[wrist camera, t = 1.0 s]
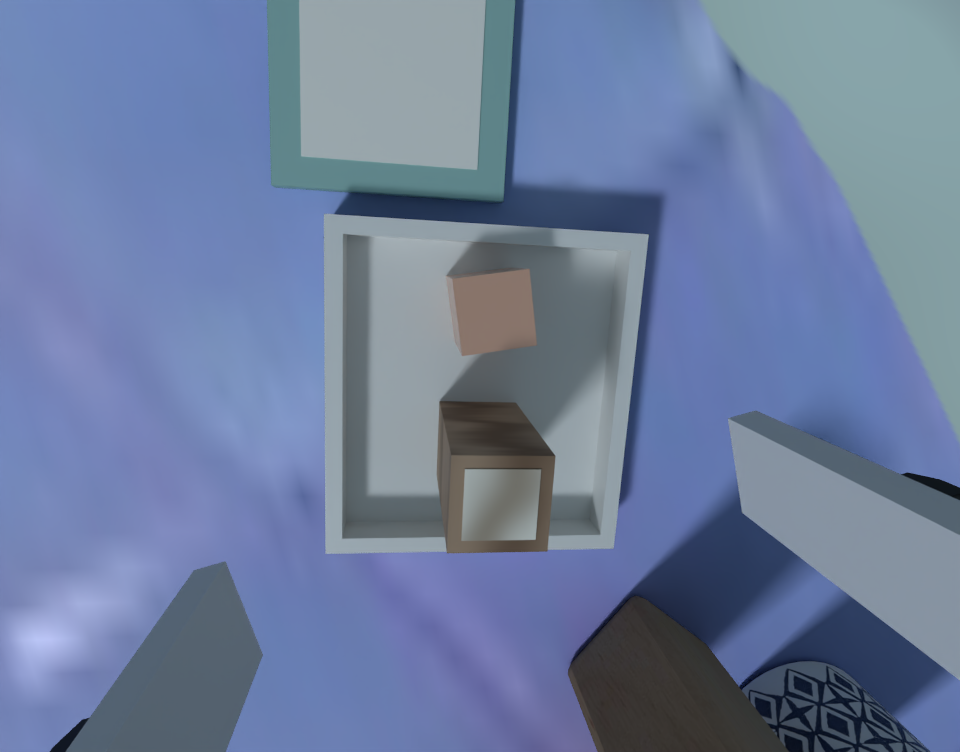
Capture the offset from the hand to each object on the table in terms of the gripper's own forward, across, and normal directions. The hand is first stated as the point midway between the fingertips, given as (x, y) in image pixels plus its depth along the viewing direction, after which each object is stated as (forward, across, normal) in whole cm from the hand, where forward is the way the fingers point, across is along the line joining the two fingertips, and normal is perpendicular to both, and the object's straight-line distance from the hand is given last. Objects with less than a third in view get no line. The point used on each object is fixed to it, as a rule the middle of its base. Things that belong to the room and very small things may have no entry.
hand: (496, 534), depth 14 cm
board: (+29, +2, +20) cm, 35 cm away
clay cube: (+28, +4, +3) cm, 29 cm away
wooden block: (+30, +10, -32) cm, 45 cm away
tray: (+29, +2, -4) cm, 30 cm away
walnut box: (+28, +1, -7) cm, 29 cm away
